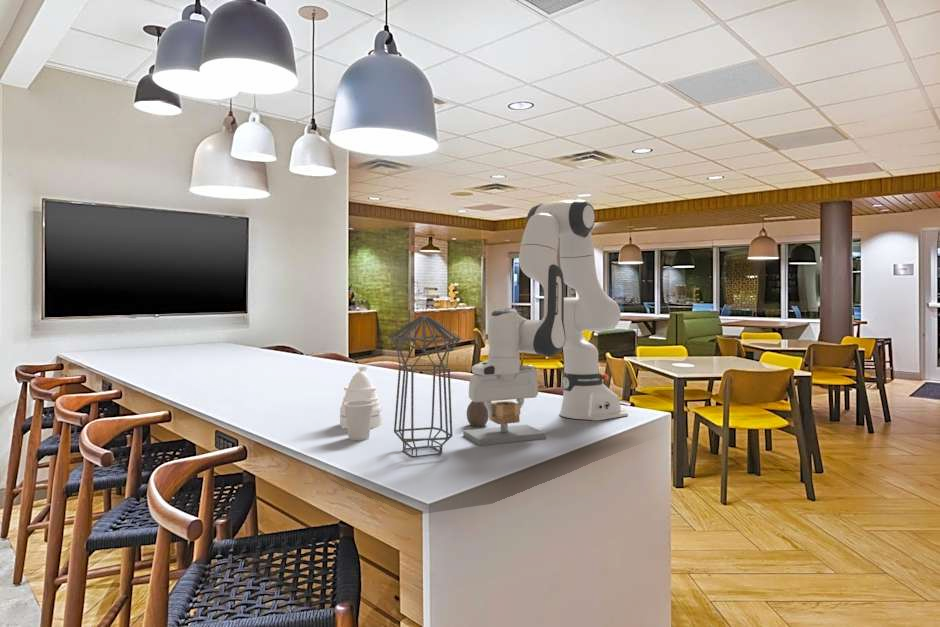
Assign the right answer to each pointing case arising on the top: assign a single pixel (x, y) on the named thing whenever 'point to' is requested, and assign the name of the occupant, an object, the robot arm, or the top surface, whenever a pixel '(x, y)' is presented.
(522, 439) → the board
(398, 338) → the geometric lantern
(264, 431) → the top surface
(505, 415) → the brown hollow square block
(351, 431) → the dixie cup
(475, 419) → the vase
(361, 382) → the honey pot
